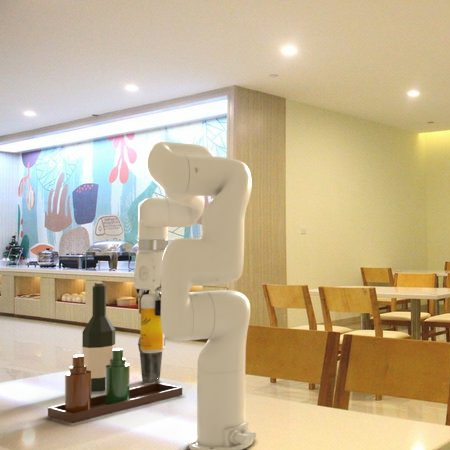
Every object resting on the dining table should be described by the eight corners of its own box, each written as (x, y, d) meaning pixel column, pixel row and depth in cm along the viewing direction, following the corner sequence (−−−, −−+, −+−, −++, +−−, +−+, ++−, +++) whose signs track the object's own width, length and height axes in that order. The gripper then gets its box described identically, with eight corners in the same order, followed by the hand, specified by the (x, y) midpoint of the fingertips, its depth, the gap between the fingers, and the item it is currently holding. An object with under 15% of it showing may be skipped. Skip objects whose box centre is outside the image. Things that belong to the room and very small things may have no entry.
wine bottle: (101, 394, 165) (102, 284, 166) (75, 393, 167) (75, 283, 168) (121, 387, 174) (122, 282, 174) (96, 385, 175) (96, 281, 176)
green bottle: (133, 404, 153) (134, 348, 154) (113, 409, 149) (113, 352, 149) (121, 401, 156) (121, 346, 157) (100, 406, 152) (101, 349, 152)
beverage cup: (131, 385, 176) (132, 315, 177) (149, 379, 183) (149, 312, 184) (152, 386, 174) (153, 316, 174) (169, 380, 181) (169, 313, 181)
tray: (182, 397, 163) (182, 387, 163) (71, 426, 138) (72, 414, 138) (157, 391, 168) (157, 382, 168) (47, 418, 144) (47, 407, 144)
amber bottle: (95, 413, 145) (96, 355, 145) (72, 419, 140) (73, 359, 141) (83, 410, 148) (83, 352, 148) (60, 416, 143) (60, 356, 144)
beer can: (141, 350, 163) (142, 294, 164) (165, 348, 165) (166, 293, 165) (139, 354, 157) (139, 296, 158) (164, 352, 159) (164, 295, 160)
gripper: (121, 246, 163) (120, 313, 163) (161, 246, 154) (160, 318, 154) (146, 246, 170) (146, 310, 169) (186, 246, 160) (185, 314, 160)
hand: (153, 313), depth 161 cm, fingers closed on beer can, 6 cm apart
